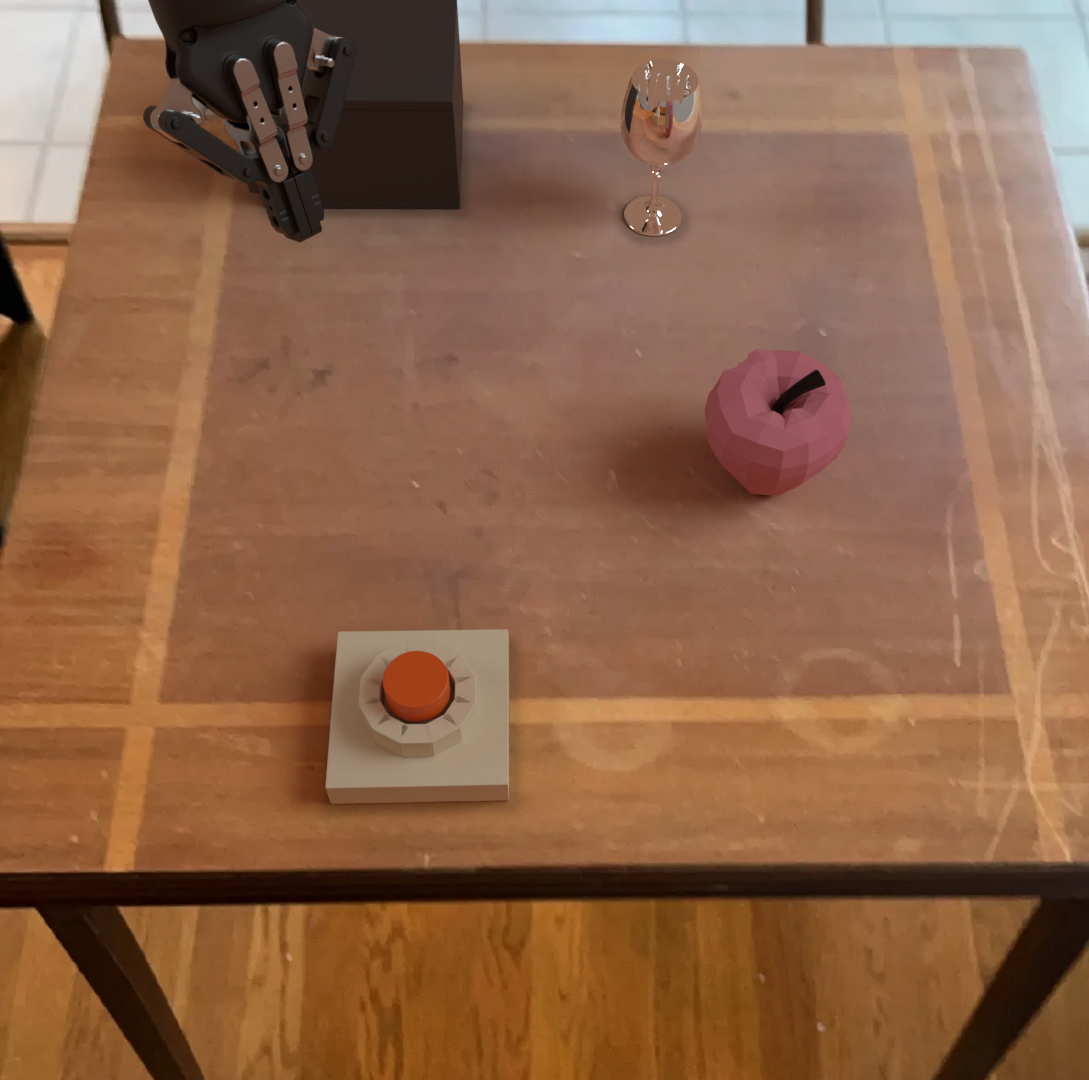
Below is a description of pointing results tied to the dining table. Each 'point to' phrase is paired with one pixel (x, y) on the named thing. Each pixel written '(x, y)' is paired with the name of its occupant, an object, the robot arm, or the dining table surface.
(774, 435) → the apple
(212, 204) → the dining table surface
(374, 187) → the dark brown box
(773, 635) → the dining table surface
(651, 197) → the wineglass
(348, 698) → the control block
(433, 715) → the button
